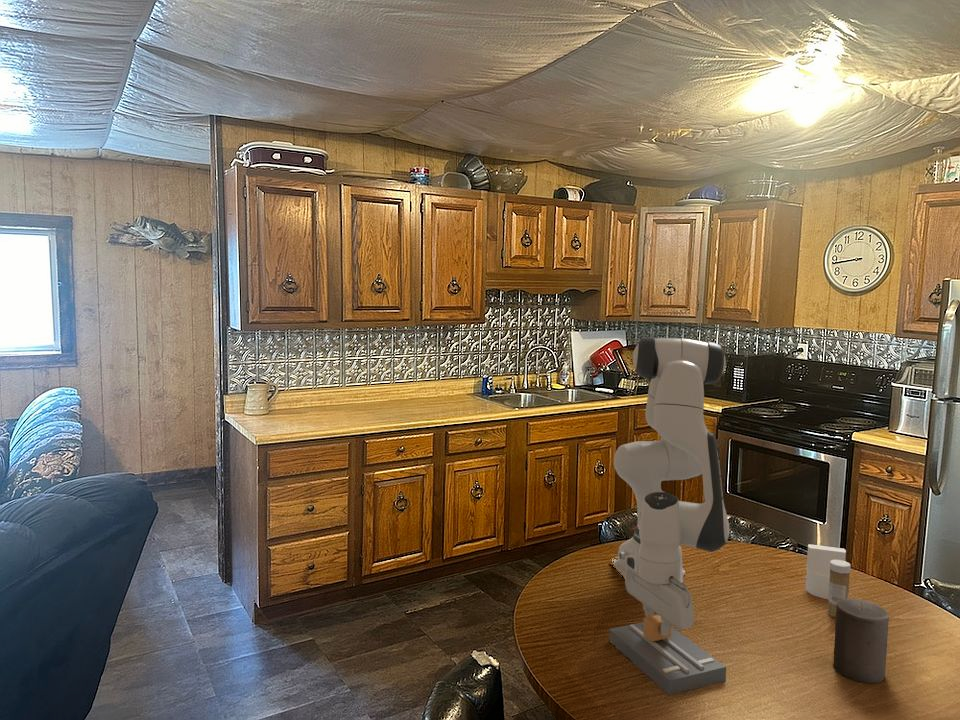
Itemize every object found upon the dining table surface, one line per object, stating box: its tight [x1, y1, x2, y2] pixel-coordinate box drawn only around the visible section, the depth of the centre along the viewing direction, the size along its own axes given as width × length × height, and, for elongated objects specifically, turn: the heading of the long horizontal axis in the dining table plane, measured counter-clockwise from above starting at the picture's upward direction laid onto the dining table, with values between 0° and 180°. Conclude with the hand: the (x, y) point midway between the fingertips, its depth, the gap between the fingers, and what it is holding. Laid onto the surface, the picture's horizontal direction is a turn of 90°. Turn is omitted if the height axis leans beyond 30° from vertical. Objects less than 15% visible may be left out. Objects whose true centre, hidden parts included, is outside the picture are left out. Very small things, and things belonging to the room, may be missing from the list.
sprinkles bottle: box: [827, 560, 852, 619], centre depth 166 cm, size 5×5×14 cm
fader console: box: [608, 621, 727, 696], centre depth 145 cm, size 22×14×4 cm, turn 21°
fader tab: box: [643, 614, 672, 642], centre depth 147 cm, size 3×5×5 cm, turn 111°
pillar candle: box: [832, 598, 890, 684], centre depth 141 cm, size 10×10×15 cm
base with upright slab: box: [805, 543, 847, 600], centre depth 179 cm, size 9×9×12 cm
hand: (657, 629), depth 147 cm, fingers closed on fader tab, 3 cm apart
